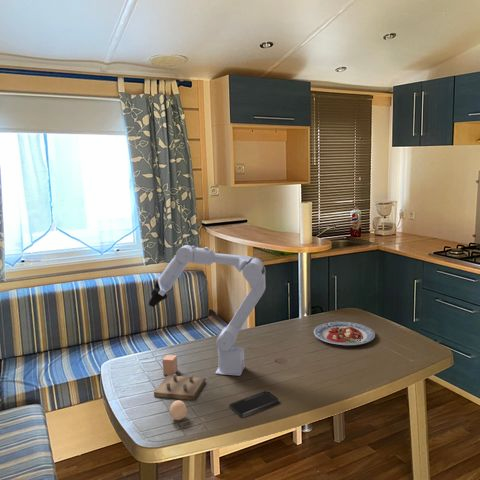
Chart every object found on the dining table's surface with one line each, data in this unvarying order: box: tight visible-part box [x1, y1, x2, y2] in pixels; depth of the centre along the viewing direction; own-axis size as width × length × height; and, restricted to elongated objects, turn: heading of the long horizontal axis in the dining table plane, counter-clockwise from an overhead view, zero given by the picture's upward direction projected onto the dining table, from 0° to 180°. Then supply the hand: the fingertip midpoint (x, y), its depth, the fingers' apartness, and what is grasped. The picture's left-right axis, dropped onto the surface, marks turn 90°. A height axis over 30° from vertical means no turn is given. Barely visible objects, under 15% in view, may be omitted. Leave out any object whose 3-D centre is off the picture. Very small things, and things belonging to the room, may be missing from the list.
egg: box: [169, 399, 188, 421], centre depth 131 cm, size 5×5×6 cm
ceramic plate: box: [313, 321, 376, 346], centre depth 188 cm, size 26×26×3 cm
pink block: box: [162, 354, 179, 376], centre depth 161 cm, size 4×4×6 cm
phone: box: [229, 390, 280, 418], centre depth 138 cm, size 8×1×15 cm
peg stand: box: [153, 373, 206, 401], centre depth 149 cm, size 14×12×4 cm
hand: (152, 300), depth 162 cm, fingers open, 7 cm apart
